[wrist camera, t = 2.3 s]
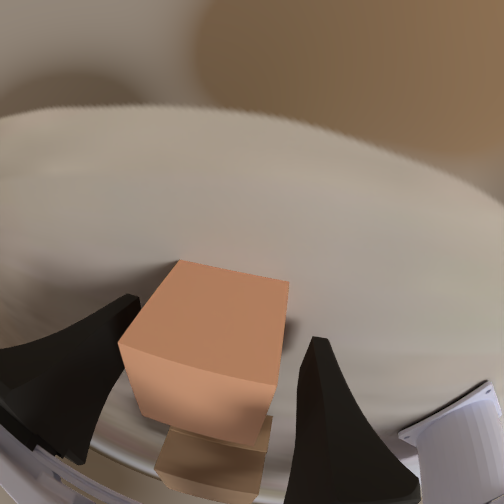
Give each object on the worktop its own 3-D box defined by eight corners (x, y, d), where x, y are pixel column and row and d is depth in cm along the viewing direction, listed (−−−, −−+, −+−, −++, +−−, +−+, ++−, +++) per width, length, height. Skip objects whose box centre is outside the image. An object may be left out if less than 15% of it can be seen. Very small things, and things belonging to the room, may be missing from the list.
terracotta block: (289, 281, 11) (277, 385, 6) (270, 355, 13) (253, 446, 9) (180, 258, 11) (117, 342, 7) (182, 335, 13) (142, 415, 9)
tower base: (273, 412, 16) (267, 451, 13) (259, 444, 19) (253, 474, 16) (183, 392, 16) (169, 428, 14) (188, 427, 19) (177, 456, 17)
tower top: (265, 452, 13) (258, 494, 11) (254, 475, 16) (247, 506, 14) (169, 429, 14) (153, 468, 11) (178, 458, 17) (168, 488, 14)
